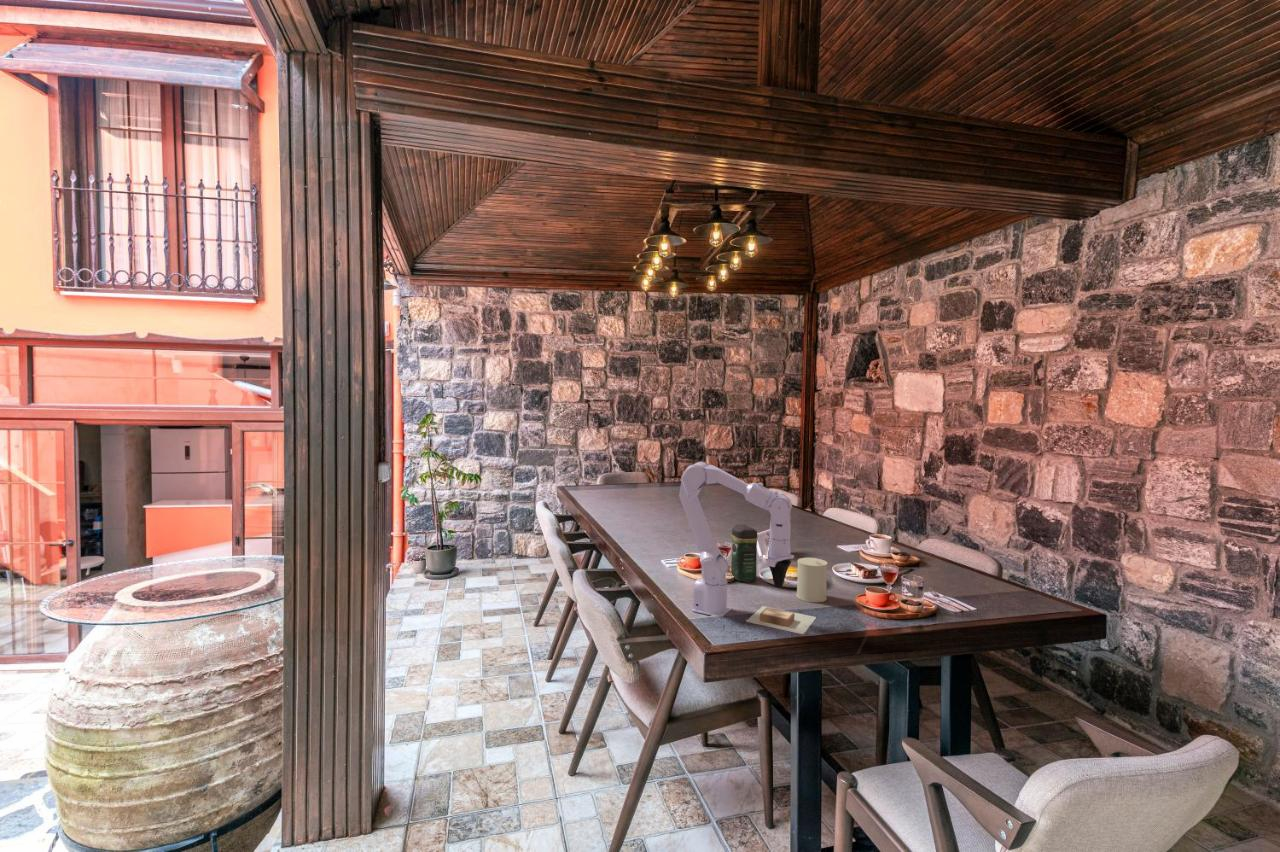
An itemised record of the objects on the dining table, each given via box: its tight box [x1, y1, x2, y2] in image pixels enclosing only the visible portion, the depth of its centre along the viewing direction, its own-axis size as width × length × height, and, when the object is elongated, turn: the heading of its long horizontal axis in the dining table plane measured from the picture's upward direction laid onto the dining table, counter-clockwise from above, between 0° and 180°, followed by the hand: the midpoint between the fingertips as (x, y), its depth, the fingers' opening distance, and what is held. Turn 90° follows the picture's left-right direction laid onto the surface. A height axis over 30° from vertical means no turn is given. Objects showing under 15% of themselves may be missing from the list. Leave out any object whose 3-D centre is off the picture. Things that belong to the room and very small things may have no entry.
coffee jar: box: [730, 524, 758, 583], centre depth 199 cm, size 10×8×19 cm
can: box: [796, 557, 828, 603], centre depth 181 cm, size 9×9×12 cm
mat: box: [745, 605, 817, 635], centre depth 161 cm, size 16×14×1 cm
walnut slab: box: [760, 606, 796, 627], centre depth 160 cm, size 8×2×6 cm
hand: (778, 585), depth 161 cm, fingers closed
